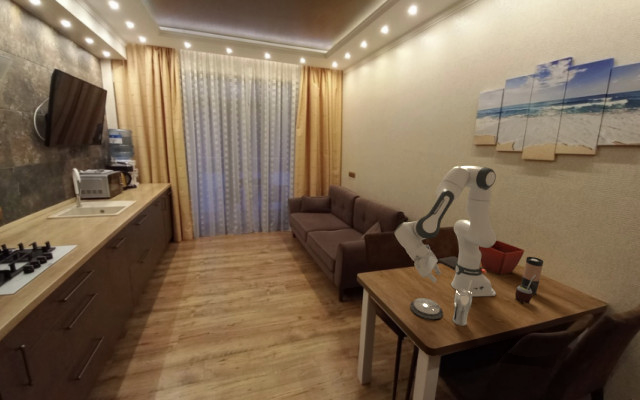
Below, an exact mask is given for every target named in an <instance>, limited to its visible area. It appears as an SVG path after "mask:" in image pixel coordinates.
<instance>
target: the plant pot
mask: <svg viewBox="0 0 640 400" xmlns="http://www.w3.org/2000/svg"><path fill="white" fill-rule="evenodd" d="M478 249H479V251H480V252H481V262H480V265H481V268H483V269H485V270H488V271H490V272H492V273H495V274H497V275H500V276H501V275H503V274H504V275H505V274H510V273H512V272H513V271H514V270H515V269H516V268H517V266H518V264H519V263H520V261H521V260H522V257H523V255H524V252H525V249H522V248H519V247H517V246H514V245H512V244H509V243H506V242H504V241H500V240H497V239H496V242H495V244H494V245H493V246H491V247H489V248H484V247H480V246H478Z"/></svg>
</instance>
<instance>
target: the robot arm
mask: <svg viewBox="0 0 640 400" xmlns="http://www.w3.org/2000/svg"><path fill="white" fill-rule="evenodd" d="M496 177H497V175H496V173H495V170H493V169H492V168H490V167H486V166H485V167H483V166H478V165H463V164H461V165H456V166H454V167H452V168H451V169H450V170H448V172H447V173H446V174H445V175H444V176H443V178H442V179H441V180H440V183H439V184H438V186H437V187H436V190H435V192H434V193H435V194H434V195H435V197H436V200H435V202H434V203H433V205H432V207H431V208H430V210H429V212H428V213H427V214H426V215H424V216H422V217H421V218H420V219H418V220H415V221H410V222H402V223H400V224H399V225H398V226H397V227H396V229H395V230H394V235H395V238H396V240H397V241H398V243H399V244H400V245H401V246H402V247H403V248H404V249H405V251H406V253H407V254H408V255H409V257H410V258H411V260H412V261H414V267H415V269H416V271H417V272H418V274H419V275H420V277H422V278H427V279H429V280H431V281H432V283H436V282H437V280H438V279H437V277H436V276H434V275H433V273H432V272H433V270H434V271H435V273H436V275H437V276H439V275H441V274H442V271H441V270H440V268H439V266H438V264H437V263H438V258H437V257H436V255H435V254H434V252H433V251H432V250H431V247H430V245H429V244H424V243H423V240H426V239H428V240H430V239H434V238H436V237H437V235H439V232H440V230H441V223H442V220H443V218H444V216H445V214H446V213H447V212H448V210H449V208H450V207H451V206H452V205H453V204H454V203H455V202H456V200H458V198H459V196H460V195H461V194H462V193H463V191H464V189H465V188H466V187H467V188H469V189H468V193H467V198H466V204H465V205H466V206H465V213H466V215H467V216H468V218H469V219H459V220H457V221H456V222H455V224H454V225H453V232H454V233H455V236H456V237H457V243H458V257H457V258H458V262H457V265H456V270H455V275H454V276H453V280H452V281H451V284H450V286H451V287H452V288H453V289H455V291H456V290H457V289H465V290H468V291H470V292H471V293H472V297H494V296H496V295H497V294H496V291H495V290H494V289H493V288H492V283H491V280H490V279H489V278H488V277H486V275H484V274H487V269H486V268H483V267H482V266H481V252H480V251H479V246H480V247H484V248H489V247H491V246H493V245H494V244H495V242H496V240H497V235H496V232H495V231H494V229H493V227H492V225H491V221H490V207H491V201H492V190H493V188H492V187H493V185H494V184H495V183H496Z"/></svg>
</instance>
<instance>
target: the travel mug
mask: <svg viewBox="0 0 640 400" xmlns="http://www.w3.org/2000/svg"><path fill="white" fill-rule="evenodd" d="M525 259H526V260H525V263H524V269H523V274H522V278H521V282H520V283H521V285H522V286H527V287H528V285H529V283H530V281H531V279H532V278H533V277H534V276H535V275H536V276H535V277H534V278H533V280H532V282H531V284H530V286H529V288H530V289H531V290H532V296H536V295H537V290H538V287H539V284H540V280H541V275H542V271H543V265H544V260H543V259H541V258H539V257H535V256H527V257H526V258H525Z"/></svg>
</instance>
